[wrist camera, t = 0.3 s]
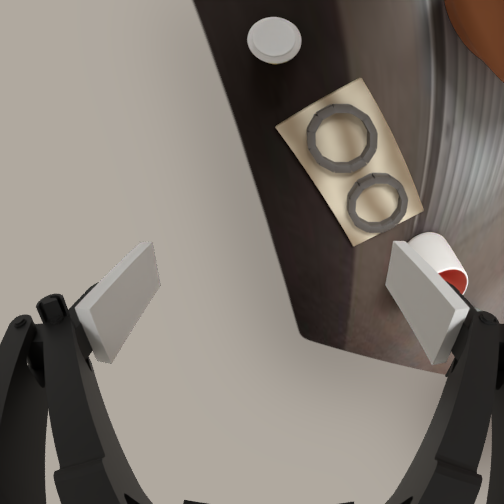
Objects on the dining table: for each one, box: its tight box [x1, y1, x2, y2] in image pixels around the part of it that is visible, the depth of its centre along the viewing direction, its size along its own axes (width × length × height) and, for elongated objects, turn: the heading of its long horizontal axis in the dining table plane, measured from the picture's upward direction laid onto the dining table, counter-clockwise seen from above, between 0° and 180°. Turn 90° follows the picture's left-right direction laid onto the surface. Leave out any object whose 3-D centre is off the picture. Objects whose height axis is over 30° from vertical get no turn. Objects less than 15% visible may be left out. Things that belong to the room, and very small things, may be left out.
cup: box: [408, 232, 468, 295], centre depth 39 cm, size 10×10×10 cm
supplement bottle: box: [247, 17, 301, 64], centre depth 23 cm, size 5×5×10 cm
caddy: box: [275, 78, 424, 246], centre depth 35 cm, size 13×22×2 cm, turn 37°
